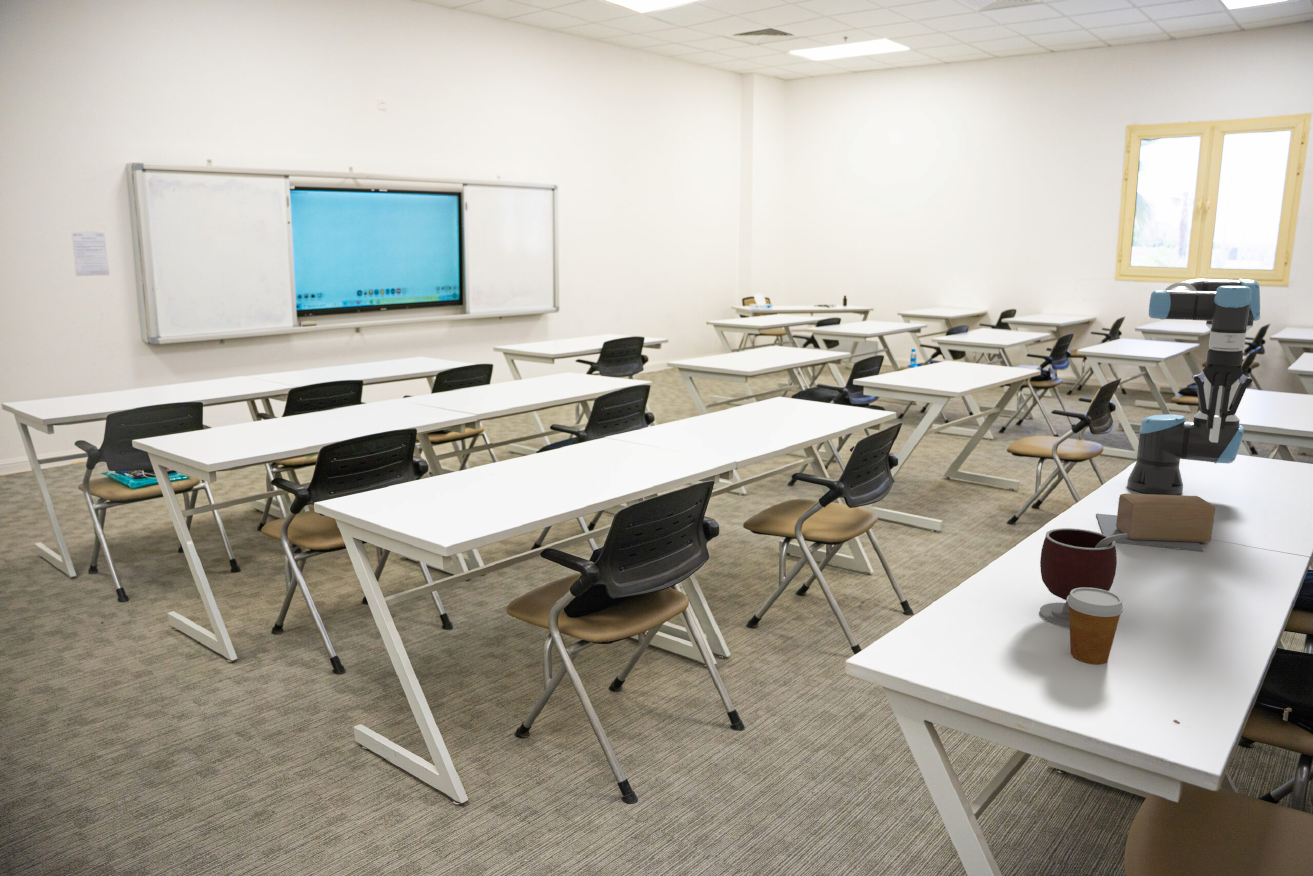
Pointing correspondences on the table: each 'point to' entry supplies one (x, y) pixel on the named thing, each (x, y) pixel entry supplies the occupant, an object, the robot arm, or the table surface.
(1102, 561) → the mate gourd
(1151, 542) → the mat
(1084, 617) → the disposable coffee cup
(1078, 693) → the table surface
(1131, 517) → the wooden block
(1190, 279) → the robot arm
